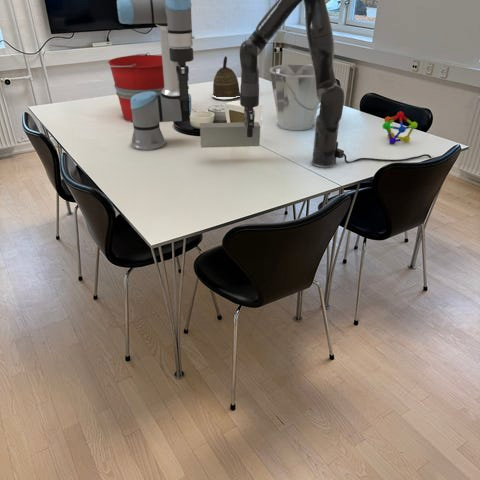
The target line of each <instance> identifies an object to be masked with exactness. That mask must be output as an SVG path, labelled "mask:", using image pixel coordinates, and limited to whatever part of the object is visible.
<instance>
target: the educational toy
mask: <svg viewBox="0 0 480 480" xmlns="http://www.w3.org/2000/svg"><path fill="white" fill-rule="evenodd" d="M397 119H399V124H400V125H399V127H398V126H393V125H391V124H392V123H394V122H395V121H396V120H397ZM403 120H404V121H405V122H407V123H408V124H409V125H407V126H404V123H403ZM417 127H418V122H417V121H411V120H410V119H409V118H408V117H406V116H405V113H404V112H403V111H401V110H400V111H398V112H397V114H396V115H394V116H391V117H390V116H386V117H385V118H384V122H383V123H382V129H383V130H386V132H387V138H388V142H389V145H395V144H396V143H397V142H402V141H403V142H404V143H409V142H410V140H411V138H410V136H411V134H412V132H413V131H414V130H415V129H417ZM392 129H393V130H397V131H398V132H396V134H395V133H394V132H392ZM408 129H409V131H408V133H407V134H406V135H404V136H401V134H403V133H405V132H406V130H408ZM399 135H400V136H399Z"/></svg>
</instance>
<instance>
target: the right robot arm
mask: <svg viewBox="0 0 480 480" xmlns="http://www.w3.org/2000/svg"><path fill="white" fill-rule="evenodd" d="M302 2H303V4H304V15H305V16H304V18H305V19H304V20H305V21H304V22H305V33H306V39H307V46H308V50H309V53H310V58H311V59H310V60H311V63H312V66H313V67H314V71H315V79H316V92H317V98H318V100H319V102H320V104H319V106H320V108H319V112H318V115H316V117H315V129H314V139H313V141H314V142H313V148H312V160H311V165H312V166H314V167H316V168H322V169H328V168H332V167H334V166H335V165H336V163H337V159H342V158H344V162H345V163H346V164H352V163H356V162H358V161H374V162H375V161H376V162H406V161H411V160H414V159H420V158H423V157H428V158H430V159H432V156H431V155H430V154H427V153H426V154H425V153H423V154H420V155H417V156H411V157H408V158H401V159H390V158H389V159H386V158H375V157H373V158H372V157H359V158H356V159H355V160H352V161H348V160H347V154H345V150H343V149H341V148H339V142H338V133H339V126H340V122H341V120H342V117H343V111H344V110H343V109H344V104H345V92H344V89H343V88H342V87H341V86H340V85H338V83H337V80H336V76H335V71H334V56H335V40H334V34H333V27H332V23H331V19H330V15H329V11H328V8H327V4H326V0H276V2H275V3H274V4H273V5H272V6H271V7H270V9H269V10H268V11H267V12H266V13H265V15H264V16H263V17H262V18H261V20H260V21H259V22H258V24H257V25H256V27H255V30H254V31H253V32H252V33H251V34H250V35H249V37H248V38H247V39H245V40H244V41H243V42H242V43H241V44H240V47H239V62H240V68H241V69H240V70H241V71H240V86H239V91H240V97H239V104H240V106H241V107H243V119H244V122H246V123H247V137H252V136H253V128H254V122H255V117H256V111H255V109H254V108H256V107H259V104H260V68H259V67H258V56H259V55H261V53H262V52H263V50H264V49H265V47H266V46H267V45H268V43H269V42H270V40H271V39H272V38H273V37H274V36H275V35H276V34H277V32H279V30H280V29H281V28H282V26H283V25H284V24H285V22H286V21H287V19H289V17H290V15H291V14H292V13H293V12H294V11H295V9H296V8H297V7H298V6H299V5H300V4H301V3H302ZM249 123H252V125H249Z"/></svg>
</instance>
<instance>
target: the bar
mask: <svg viewBox="0 0 480 480" xmlns="http://www.w3.org/2000/svg"><path fill="white" fill-rule="evenodd" d="M249 125H252V123H249ZM199 136H200V148H201V149H206V148H211V149H212V148H243V147H246V148H247V147H248V148H249V147H260V143H261V140H260V139H261V125H260V123H259V122H258V121H254V128H253V136H252V137H247V123H246V122H245V121H244V122H242V121H241V122H239V121H238V122H200V123H199Z"/></svg>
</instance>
